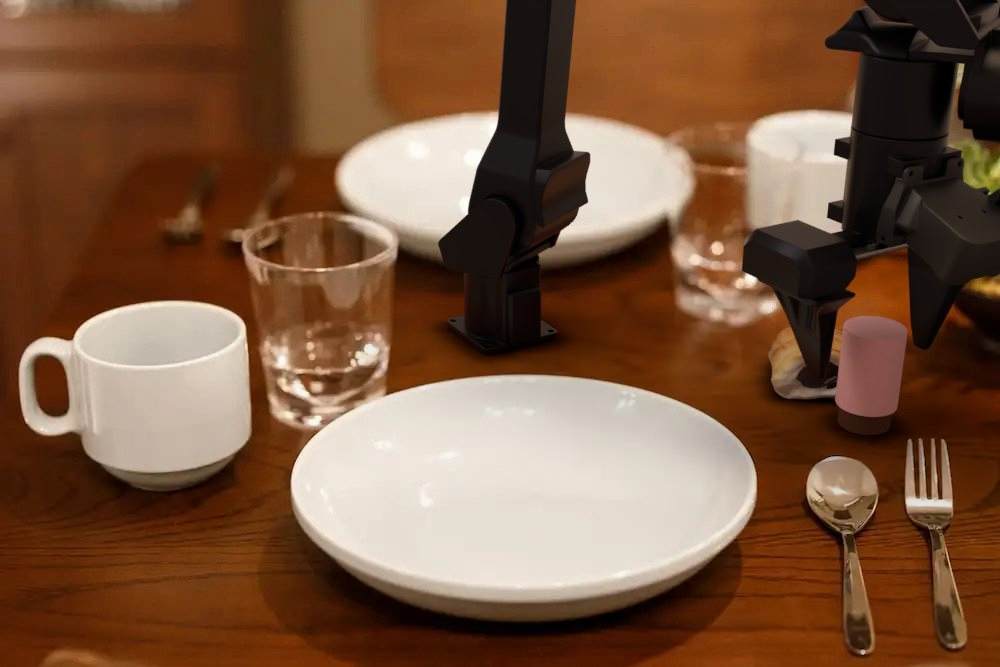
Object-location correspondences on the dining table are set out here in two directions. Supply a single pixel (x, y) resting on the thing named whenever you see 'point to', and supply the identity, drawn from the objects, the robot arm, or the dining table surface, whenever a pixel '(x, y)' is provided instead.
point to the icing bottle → (870, 373)
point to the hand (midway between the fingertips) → (870, 362)
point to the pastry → (801, 369)
